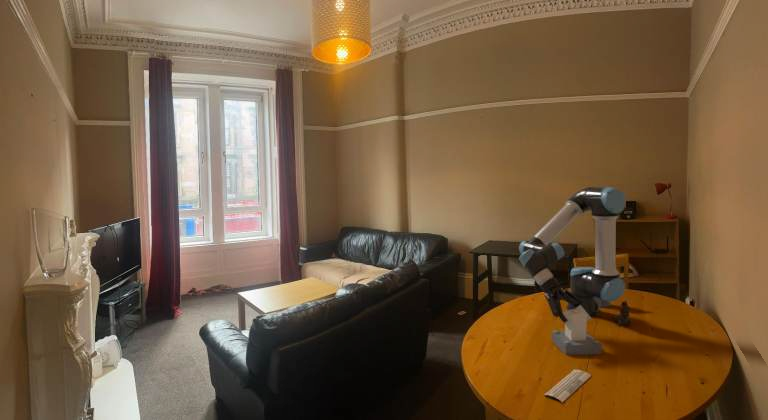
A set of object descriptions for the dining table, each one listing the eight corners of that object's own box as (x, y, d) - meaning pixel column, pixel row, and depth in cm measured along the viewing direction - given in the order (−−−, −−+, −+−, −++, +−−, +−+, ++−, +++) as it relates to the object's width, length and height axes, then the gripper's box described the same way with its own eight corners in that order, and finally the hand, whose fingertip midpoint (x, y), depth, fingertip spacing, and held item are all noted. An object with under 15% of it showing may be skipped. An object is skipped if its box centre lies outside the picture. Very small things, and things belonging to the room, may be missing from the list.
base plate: (584, 339, 176) (584, 329, 175) (600, 354, 162) (601, 343, 161) (552, 340, 176) (552, 330, 176) (565, 354, 162) (565, 343, 162)
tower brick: (579, 334, 172) (579, 307, 171) (586, 340, 166) (586, 312, 165) (565, 334, 172) (565, 307, 171) (571, 340, 166) (571, 312, 165)
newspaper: (573, 372, 149) (573, 367, 149) (594, 379, 144) (594, 374, 144) (544, 398, 134) (544, 392, 133) (565, 406, 128) (565, 401, 128)
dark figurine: (629, 329, 185) (630, 303, 184) (605, 324, 193) (606, 298, 192) (639, 320, 196) (639, 295, 195) (616, 316, 203) (616, 291, 202)
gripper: (555, 280, 187) (588, 321, 176) (525, 292, 171) (559, 336, 161) (567, 271, 182) (601, 312, 172) (536, 282, 167) (572, 327, 156)
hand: (580, 324), depth 166 cm, fingers open, 13 cm apart
